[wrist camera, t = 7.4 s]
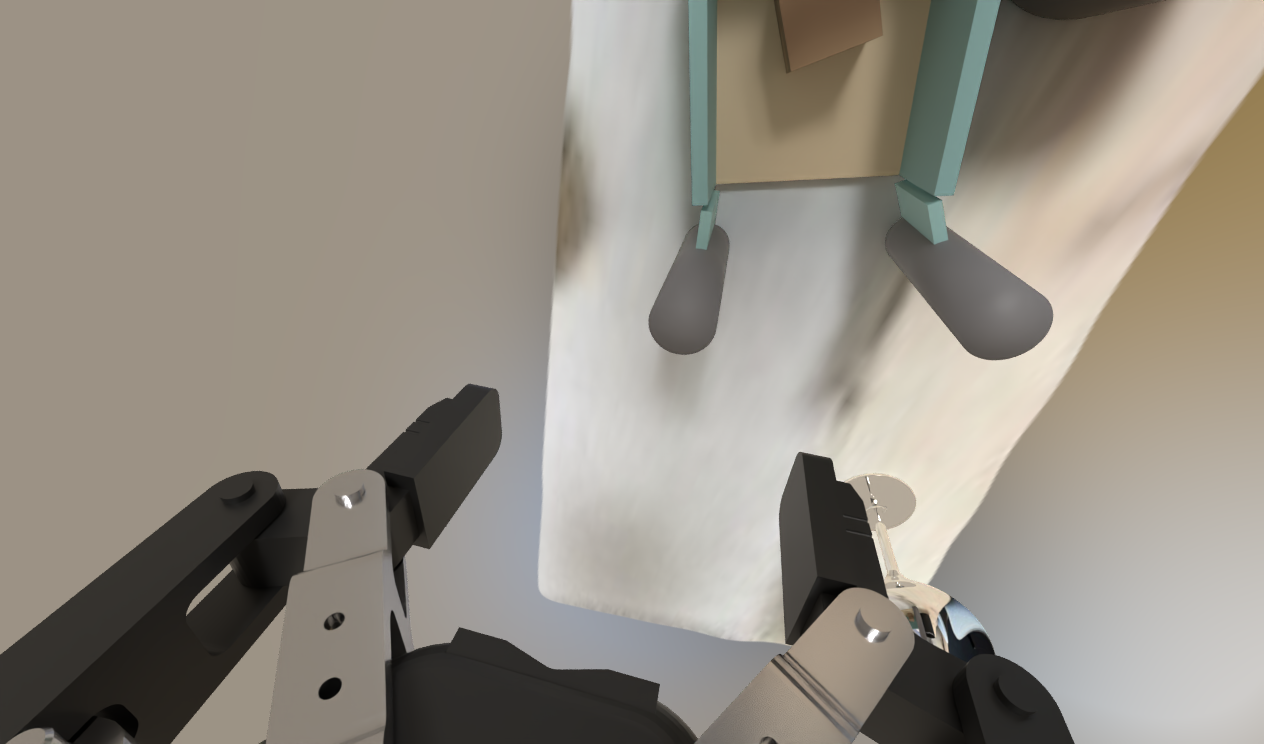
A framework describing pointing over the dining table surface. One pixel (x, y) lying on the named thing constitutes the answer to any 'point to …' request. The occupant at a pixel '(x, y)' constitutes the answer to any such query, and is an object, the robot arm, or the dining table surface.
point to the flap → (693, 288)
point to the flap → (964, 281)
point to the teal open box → (835, 96)
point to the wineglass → (919, 602)
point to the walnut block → (824, 28)
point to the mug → (1076, 7)
